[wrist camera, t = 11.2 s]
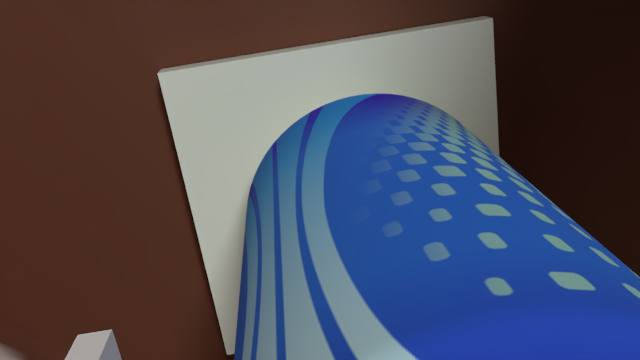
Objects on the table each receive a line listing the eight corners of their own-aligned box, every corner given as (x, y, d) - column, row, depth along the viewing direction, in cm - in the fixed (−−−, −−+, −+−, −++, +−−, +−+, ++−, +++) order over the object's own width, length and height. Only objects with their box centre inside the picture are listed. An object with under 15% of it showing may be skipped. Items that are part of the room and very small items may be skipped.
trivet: (161, 69, 20) (157, 73, 19) (484, 16, 20) (492, 18, 20) (228, 342, 24) (227, 355, 23) (499, 294, 24) (506, 305, 24)
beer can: (529, 180, 22) (1109, 673, 7) (378, 341, 24) (570, 1007, 9) (352, 32, 19) (634, 283, 4) (200, 223, 21) (37, 854, 6)
